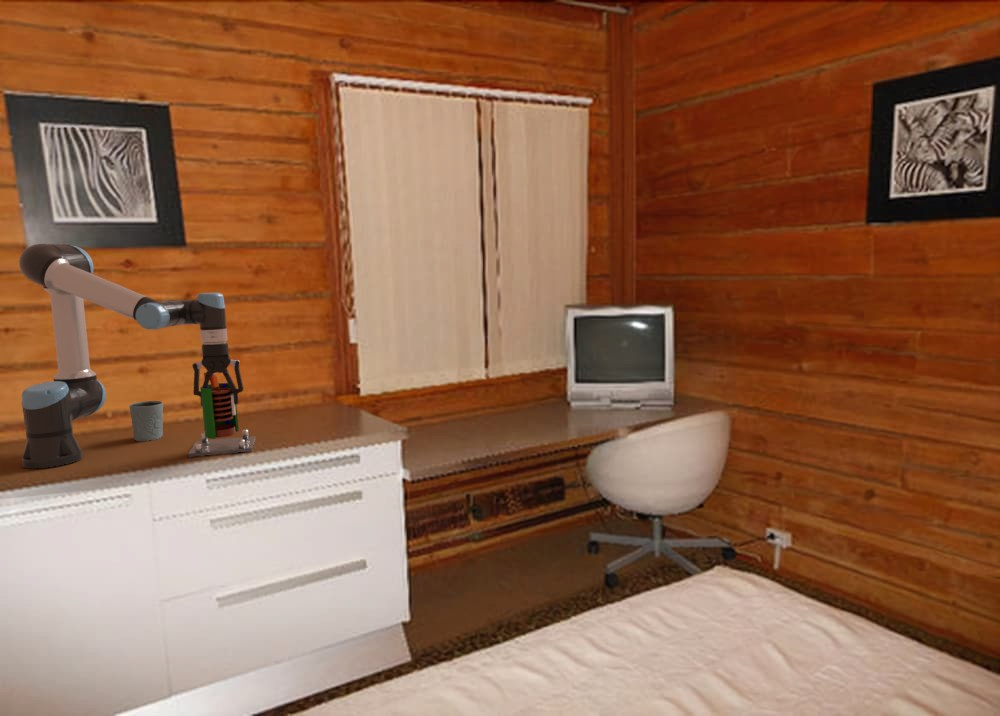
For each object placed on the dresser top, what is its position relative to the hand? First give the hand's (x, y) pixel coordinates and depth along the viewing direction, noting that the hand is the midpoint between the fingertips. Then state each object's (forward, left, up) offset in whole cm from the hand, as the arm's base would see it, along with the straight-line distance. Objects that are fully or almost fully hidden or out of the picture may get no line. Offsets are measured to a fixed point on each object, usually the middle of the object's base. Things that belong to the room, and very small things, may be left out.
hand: (221, 415), depth 215 cm
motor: (0, 0, -6) cm, 6 cm away
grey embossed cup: (-26, +24, -11) cm, 37 cm away
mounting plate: (0, 0, -11) cm, 11 cm away
